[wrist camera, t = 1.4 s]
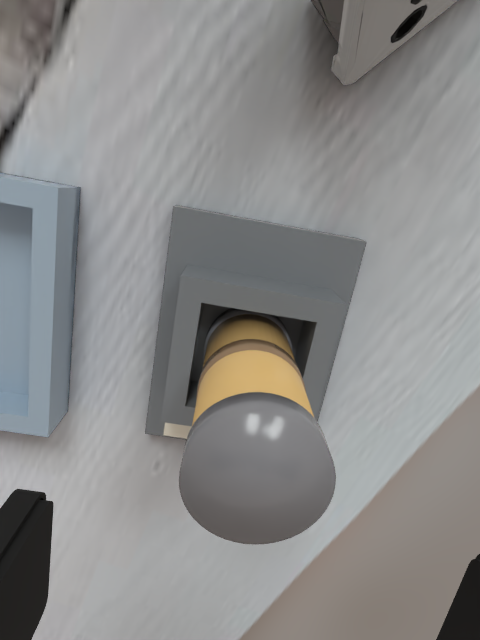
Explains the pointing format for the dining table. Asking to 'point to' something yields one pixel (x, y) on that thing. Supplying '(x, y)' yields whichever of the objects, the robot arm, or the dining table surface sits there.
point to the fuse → (254, 437)
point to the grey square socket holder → (246, 301)
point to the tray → (36, 301)
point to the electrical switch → (373, 30)
